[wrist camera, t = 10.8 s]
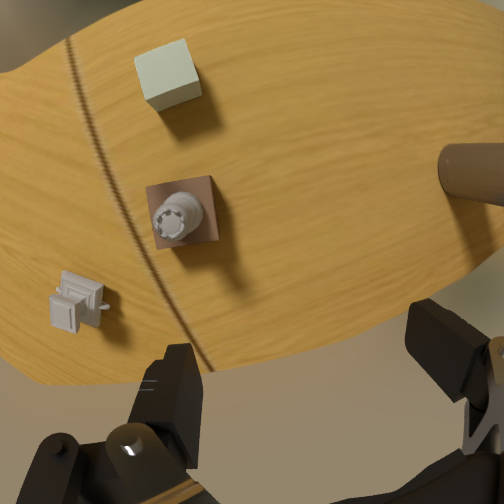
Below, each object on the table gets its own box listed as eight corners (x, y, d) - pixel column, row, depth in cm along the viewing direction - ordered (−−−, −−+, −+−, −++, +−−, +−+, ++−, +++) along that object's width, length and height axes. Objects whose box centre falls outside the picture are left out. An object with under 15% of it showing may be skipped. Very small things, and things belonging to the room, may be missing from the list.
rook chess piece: (186, 241, 30) (175, 262, 22) (154, 215, 29) (132, 228, 21) (212, 208, 29) (208, 219, 22) (179, 182, 28) (164, 184, 21)
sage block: (189, 58, 29) (184, 38, 23) (202, 95, 31) (199, 80, 25) (145, 74, 29) (133, 57, 23) (157, 112, 30) (145, 100, 25)
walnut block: (211, 175, 33) (209, 175, 28) (219, 231, 35) (218, 239, 30) (155, 185, 33) (145, 186, 28) (165, 240, 35) (156, 249, 30)
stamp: (62, 301, 35) (35, 327, 27) (64, 262, 34) (34, 281, 26) (113, 320, 37) (92, 351, 29) (117, 280, 35) (94, 305, 27)
